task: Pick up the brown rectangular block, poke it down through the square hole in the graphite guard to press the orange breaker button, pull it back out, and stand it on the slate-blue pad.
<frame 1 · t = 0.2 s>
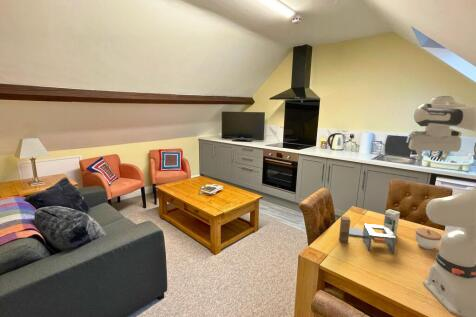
hand: (431, 159, 116), 48 cm above the table, fingers open, 8 cm apart
breaker button: (378, 238, 127), point 4 cm above the table, slide at 0.0 cm
syrup box: (389, 234, 138), on the table
lidded jar: (425, 246, 127), on the table
slate pad: (354, 232, 140), on the table
brown rectangular block: (343, 241, 132), on the table
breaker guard: (377, 245, 128), on the table
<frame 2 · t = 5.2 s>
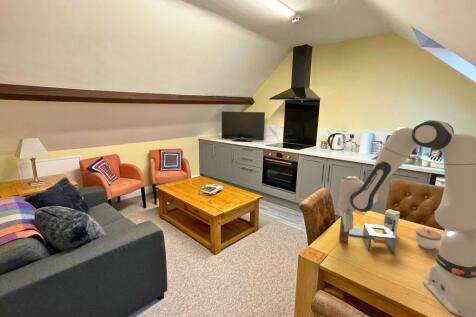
hand: (344, 228, 130), 8 cm above the table, fingers closed on brown rectangular block, 4 cm apart
brown rectangular block: (343, 241, 132), on the table, touching gripper
everything else where it was.
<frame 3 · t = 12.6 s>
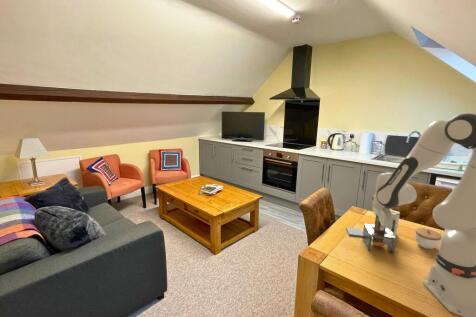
hand: (379, 227, 125), 11 cm above the table, fingers closed on brown rectangular block, 4 cm apart
breaker button: (377, 241, 127), point 2 cm above the table, slide at 1.7 cm, touching brown rectangular block
brown rectangular block: (378, 239, 127), point 3 cm above the table, touching breaker button, gripper
everything else where it was.
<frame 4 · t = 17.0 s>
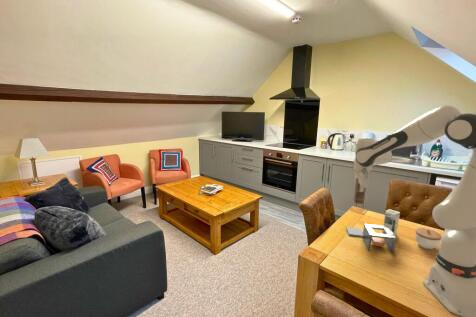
hand: (359, 189, 134), 27 cm above the table, fingers closed on brown rectangular block, 4 cm apart
breaker button: (377, 241, 127), point 2 cm above the table, slide at 1.7 cm
brown rectangular block: (358, 202, 136), point 19 cm above the table, touching gripper
everything else where it was.
when the fingers open (10 cm above the table, at t = 21.0 s): brown rectangular block stays where it is, resting on slate pad.
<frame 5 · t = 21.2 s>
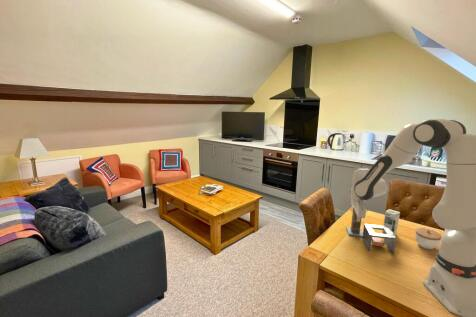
hand: (356, 218, 138), 10 cm above the table, fingers open, 6 cm apart
brown rectangular block: (355, 231, 140), point 1 cm above the table, touching slate pad
everything else where it was.
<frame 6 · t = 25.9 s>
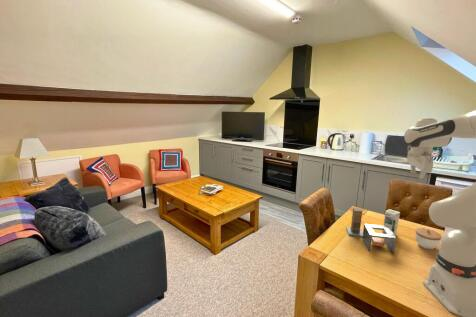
hand: (417, 175, 126), 37 cm above the table, fingers open, 8 cm apart
nothing on the table moved.
at the end: breaker button slide at 1.7 cm; brown rectangular block 0.1 cm off-centre on the slate pad, point 1.0 cm above the slate pad's base; brown rectangular block tilted 0° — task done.
